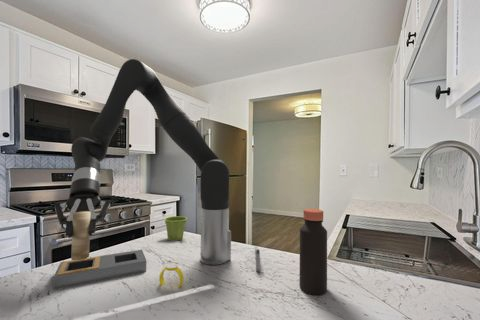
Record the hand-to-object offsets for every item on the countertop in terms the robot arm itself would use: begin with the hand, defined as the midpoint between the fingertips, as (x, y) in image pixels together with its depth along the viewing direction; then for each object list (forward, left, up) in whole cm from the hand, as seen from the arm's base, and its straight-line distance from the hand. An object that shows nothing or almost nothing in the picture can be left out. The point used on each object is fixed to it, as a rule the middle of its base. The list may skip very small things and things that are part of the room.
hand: (80, 234), depth 62 cm
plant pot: (-32, -26, -13) cm, 43 cm away
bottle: (-53, +31, -13) cm, 62 cm away
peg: (0, -2, -7) cm, 7 cm away
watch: (-21, +14, -13) cm, 28 cm away
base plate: (-6, -2, -13) cm, 14 cm away
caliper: (-51, +8, -13) cm, 53 cm away
